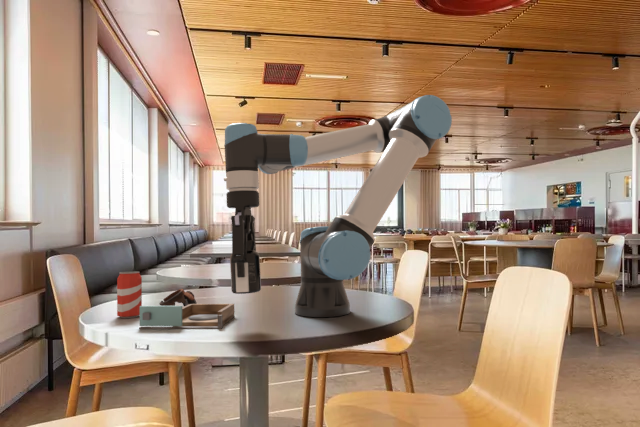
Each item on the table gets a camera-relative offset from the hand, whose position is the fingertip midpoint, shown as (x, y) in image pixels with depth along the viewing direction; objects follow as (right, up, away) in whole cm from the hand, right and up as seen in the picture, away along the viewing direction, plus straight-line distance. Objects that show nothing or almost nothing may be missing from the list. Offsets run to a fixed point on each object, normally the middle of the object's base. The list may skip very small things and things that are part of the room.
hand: (246, 289), depth 106 cm
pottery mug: (-21, -11, +19) cm, 30 cm away
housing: (-15, -10, +8) cm, 20 cm away
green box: (-20, -9, +2) cm, 22 cm away
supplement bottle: (0, -1, 0) cm, 1 cm away
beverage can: (-34, -11, +18) cm, 40 cm away
